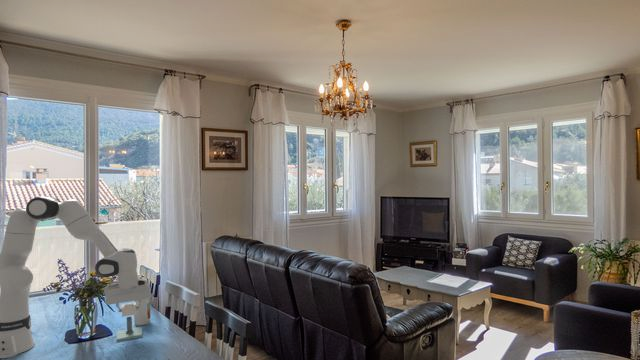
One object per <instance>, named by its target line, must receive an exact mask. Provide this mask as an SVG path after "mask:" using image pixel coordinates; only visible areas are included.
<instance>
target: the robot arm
mask: <svg viewBox="0 0 640 360" xmlns="http://www.w3.org/2000/svg"><path fill="white" fill-rule="evenodd" d="M55 219H58V220H60V221H61V222H62V224H63V225H64V227H65V228H66V229H67V231H68V233H69V234H70V235H71V236H72V237H73V238H75V239H78V240H80V241H82V240H83V241H87V242H89V243H92V244H93V245H94V246H95V247H96V248H97V250H98V251H99V252H100V254H101V255H102V256H103V257H102V258H100V259H99V260H98V261H97V262H96V264H95V265H94V270H95V274H96V275H97V276H99V277H100V278H103V279H105V278H110V277H114V276H116V277H117V283H113V284H107V285H106V286H104V287H103V293H104V295H105V298H104V303H105V305H106V306H109V305H115V307H116V308H117V309H118V313H122V306H120V304H123V303H129V302H130V303H131V302H134V301H136V300H138V302H139V303H138V305H136V309H139V306H140V304H141V302H142V301H141V300H143V299H149V300H150V299H151V297H152V290H151V287H150V285H149V283H148V278H147V277H145V276H144V277H143V276H138V275H139V274H138V271H137V269H138V259H137V253H136V251H135V250H134V249H131V248H119V249H117V248H116V247H115V246H114V245H113V243H112V242H111V241H110V239H109V238H108V237H107V236H106V234H105V233H104V231H102V230H101V229H100V227H99V226H98V225H97V224H96V222H95V221H94V220H93V218H92V216H91V215H90V214H89V213H88V211H87V210H86V208H85V207H84V206H83V205H82V204H81V203H80V201H78V200H76V199H67V200H64V201H63V202H62V201H61V200H60V199H58V198H56V197H52V196H46V195H45V196H42V195H41V196H36V197H33V198H31V199H30V200H29V201H28V202H27V204H26V207H25V208H20V209H19V208H17V209H15V210H13V211H12V212H11V214H10V216H9V218H8V221H7V224H6V227H5V231H4V237H3V243H2V246H1V249H0V250H1V251H0V358H1V359H7V358H8V359H9V358H13V357H15V356H16V355H19V354H21V353H23V352H26V351H28V350H30V349H33V348H34V346H36V345H35V341H34V339H33V335H32V330H31V327H32V318H31V315H30V304H29V303H30V301H29V300H30V299H29V297H30V293H31V285H32V283H33V280H34V275H33V273H32V271H31V269H29V268H28V267H27V266H26V263H27V260H28V258H29V256H30V254H31V253H32V251H33V245H34V240H35V234H36V230H37V225H38V223H40V222H45V221H50V220H55Z"/></svg>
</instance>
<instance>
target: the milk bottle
mask: <svg viewBox="0 0 640 360" xmlns="http://www.w3.org/2000/svg"><path fill="white" fill-rule="evenodd" d="M141 301H142V302H141V304H140V306H139V309H136V314H135V315H133V318H134V320H133V321H134V326H137V327H142V326H145V325H148V324H150V323H151V304H150V303H151V302H150V301H151V300H150V298H149V299H143V300H141ZM135 302H136V305H138V303H139V302H138V300H136V301H133V303H135Z"/></svg>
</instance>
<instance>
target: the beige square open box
mask: <svg viewBox="0 0 640 360" xmlns="http://www.w3.org/2000/svg"><path fill="white" fill-rule="evenodd" d="M121 307H122V312H121V317H130V316H134V315H135V314H136V302H135V303H134V302H130V303H129V302H128V303H124V304H123V303H121Z"/></svg>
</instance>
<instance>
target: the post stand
mask: <svg viewBox="0 0 640 360" xmlns="http://www.w3.org/2000/svg"><path fill="white" fill-rule="evenodd" d="M116 331H117V332H116V342H123V341H128V340H134V339H139V338H140V339H141V338H143V328H142V326H137V327H133V318H132V316H126V329H122V330H121V329H119V330H116Z"/></svg>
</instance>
